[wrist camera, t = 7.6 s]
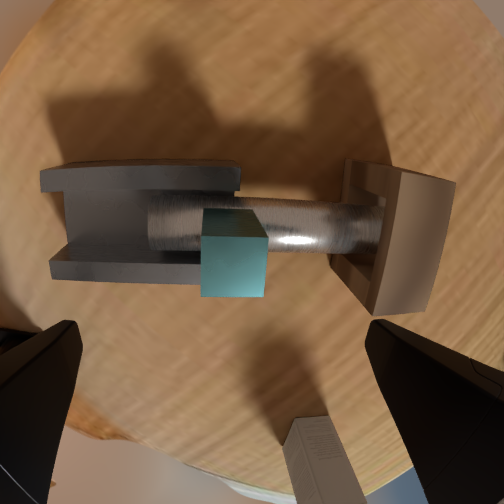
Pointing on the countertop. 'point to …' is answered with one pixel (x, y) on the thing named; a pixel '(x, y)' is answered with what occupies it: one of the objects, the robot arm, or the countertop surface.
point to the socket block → (396, 236)
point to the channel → (128, 216)
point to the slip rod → (256, 234)
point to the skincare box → (320, 464)
